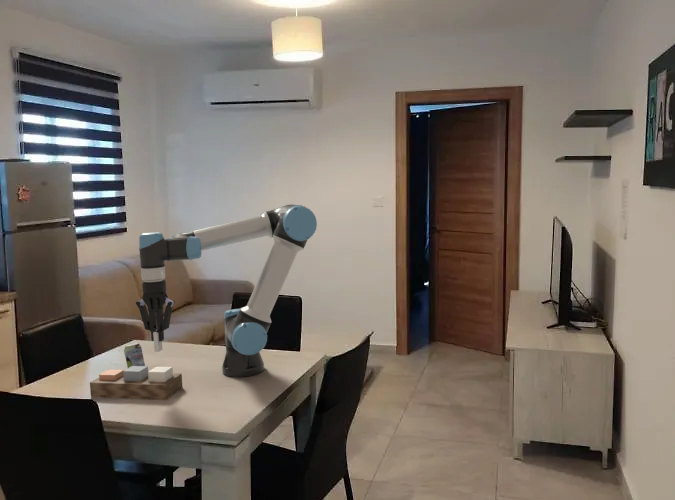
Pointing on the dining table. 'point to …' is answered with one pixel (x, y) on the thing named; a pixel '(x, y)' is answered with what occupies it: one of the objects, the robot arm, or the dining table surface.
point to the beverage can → (134, 355)
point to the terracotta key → (111, 375)
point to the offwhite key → (160, 374)
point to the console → (136, 388)
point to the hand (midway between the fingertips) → (158, 350)
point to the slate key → (135, 373)
